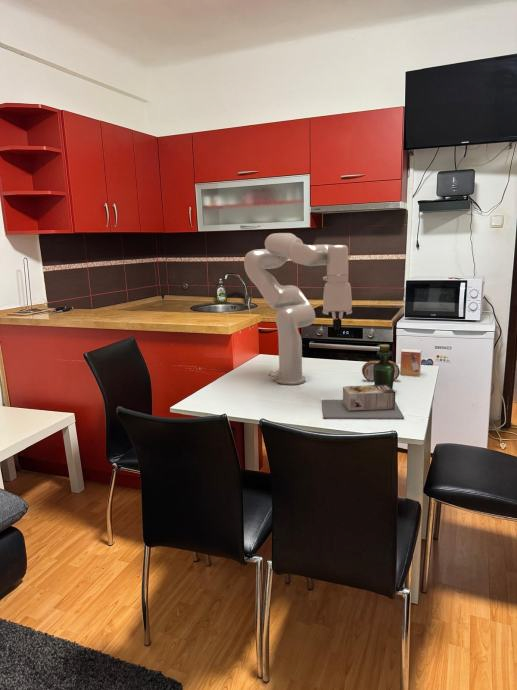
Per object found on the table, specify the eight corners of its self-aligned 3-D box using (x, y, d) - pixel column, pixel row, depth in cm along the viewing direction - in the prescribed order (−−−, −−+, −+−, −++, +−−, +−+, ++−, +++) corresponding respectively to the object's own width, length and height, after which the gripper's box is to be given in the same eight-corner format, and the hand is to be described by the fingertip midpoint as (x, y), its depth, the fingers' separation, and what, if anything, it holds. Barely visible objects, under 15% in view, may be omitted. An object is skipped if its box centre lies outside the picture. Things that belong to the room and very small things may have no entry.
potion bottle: (374, 387, 194) (374, 342, 190) (395, 388, 191) (396, 343, 187) (371, 393, 186) (372, 347, 182) (393, 395, 183) (394, 348, 180)
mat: (323, 418, 162) (323, 417, 162) (321, 401, 179) (321, 399, 179) (404, 419, 159) (404, 417, 159) (394, 401, 177) (394, 399, 177)
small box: (399, 375, 209) (400, 351, 207) (401, 371, 214) (402, 348, 212) (419, 376, 206) (420, 352, 204) (420, 373, 211) (421, 349, 209)
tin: (398, 380, 203) (399, 360, 201) (400, 382, 200) (400, 362, 198) (361, 379, 204) (362, 360, 203) (362, 382, 201) (362, 362, 200)
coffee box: (342, 385, 173) (387, 383, 174) (342, 403, 175) (386, 401, 176) (348, 393, 164) (396, 391, 165) (348, 411, 166) (395, 409, 167)
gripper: (316, 281, 174) (317, 331, 178) (359, 280, 173) (358, 331, 177) (316, 279, 182) (316, 328, 185) (357, 278, 180) (356, 327, 184)
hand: (337, 329), depth 181 cm, fingers closed
